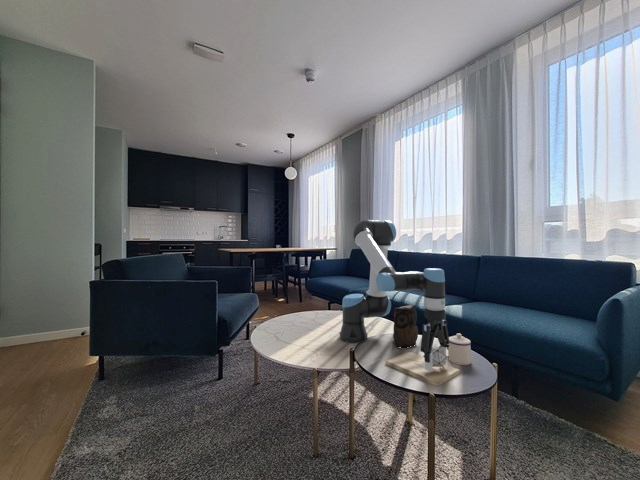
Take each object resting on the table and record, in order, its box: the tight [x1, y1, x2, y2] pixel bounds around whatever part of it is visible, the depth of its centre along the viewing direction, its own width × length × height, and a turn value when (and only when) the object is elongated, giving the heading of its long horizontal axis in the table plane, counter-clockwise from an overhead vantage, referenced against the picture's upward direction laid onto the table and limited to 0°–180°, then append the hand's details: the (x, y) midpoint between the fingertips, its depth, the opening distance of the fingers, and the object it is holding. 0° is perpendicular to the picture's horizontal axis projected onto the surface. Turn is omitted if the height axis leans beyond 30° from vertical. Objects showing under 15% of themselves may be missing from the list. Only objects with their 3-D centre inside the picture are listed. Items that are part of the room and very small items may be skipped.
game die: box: [422, 344, 449, 368], centre depth 104 cm, size 9×8×10 cm
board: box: [385, 351, 461, 387], centre depth 109 cm, size 23×16×2 cm
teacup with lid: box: [446, 332, 472, 366], centre depth 117 cm, size 12×9×12 cm
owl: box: [392, 304, 419, 349], centre depth 135 cm, size 13×13×20 cm
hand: (435, 366), depth 104 cm, fingers closed on game die, 9 cm apart
